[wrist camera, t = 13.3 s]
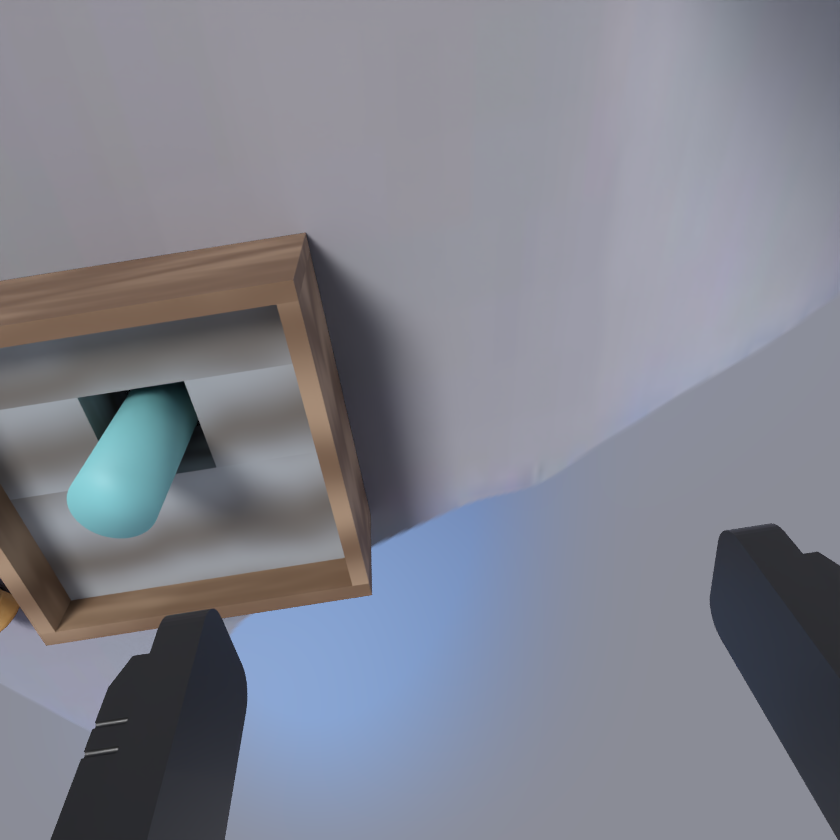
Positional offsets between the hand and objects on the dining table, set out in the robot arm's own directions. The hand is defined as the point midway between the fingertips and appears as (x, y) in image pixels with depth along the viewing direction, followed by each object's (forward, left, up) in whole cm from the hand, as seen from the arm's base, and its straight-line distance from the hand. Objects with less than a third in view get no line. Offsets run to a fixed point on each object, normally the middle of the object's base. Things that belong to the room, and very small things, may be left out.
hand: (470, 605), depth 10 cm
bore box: (+11, -15, -28) cm, 34 cm away
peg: (+9, -15, -28) cm, 33 cm away
